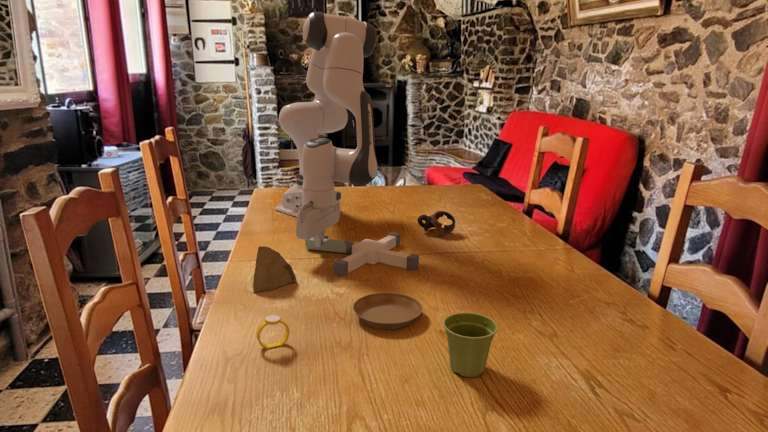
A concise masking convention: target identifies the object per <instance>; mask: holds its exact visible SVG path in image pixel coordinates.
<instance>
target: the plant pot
mask: <svg viewBox="0 0 768 432" xmlns="http://www.w3.org/2000/svg"><path fill="white" fill-rule="evenodd" d="M442 326H443V328H444V332H445V335H446V338H447V339H446V340H447V346H448V348H447V349H448V356H449V358H448V359H449V367H450V370H451V372H453V373H456V374H459V375H460V376H462V377H467V378H476V377H479V376H480V375H481V374H482V373H484V372H485V370H486V366H487V362H488V357H489V353H490V348H491V344H492V341H493V339H494V337H495V335H496V334H497V332H498V331H499V330H498V329H499V326H498V323H496V321H495V320H494V319H492V318H490V317H489V316H488V315H487V316H486V315H484V314H481V313H477V312H456V313H451V314H449V315H447V316H445V318H444V319H443V321H442Z"/></svg>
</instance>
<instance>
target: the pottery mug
mask: <svg viewBox="0 0 768 432" xmlns="http://www.w3.org/2000/svg"><path fill="white" fill-rule="evenodd" d="M444 216H445V217H446V219H448V220H451V222H452V223H451V224H449V225H448V224H444V225H443V223H442V222H440V221H438V220H439V219H440V218H442V217H444ZM416 220H417V224H418V226H420V227H421V228H423V230H424V231H425V232H427V231H428V230H429V229H432V228H435V229H437V230H438V231H437V233H436V236H437V237H438V238H439V239H440V238H441V239H442V238H443V237H444V236H446V235H449V234H451V233H452V232H454V230H455V228H456V219H455V217H454V215H452V213H450V212H448V211H445V210H437V211H435V212H434V213H432V214H431V215H426V214H420V215H419V216H418V218H417V219H416ZM423 221H424V222H423ZM442 226H443V227H442Z"/></svg>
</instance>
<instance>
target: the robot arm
mask: <svg viewBox="0 0 768 432" xmlns="http://www.w3.org/2000/svg"><path fill="white" fill-rule="evenodd" d="M377 35H378V33H377V29H376V28H375V26H374V25H373V24H371V23H369V22H368V21H361V20H358V19H356V18H353V17H349V16H346V15H337V14H331V13H323V12H322V11H312V12H310V13H309V14H308V15H307V17H306V18H305V21H304V23H303V27H302V36H303V41H304V43H305V44H306V46H307V47H309V48H311V49H312V51H311V54H310V59H309V63H308V68H307V73H306V76H305V77H306V78H305V82H306V86H307V88H308V89H309V90H310V91H311V92H312V93H313V94H314V99H313V101H301V102H300V101H299V102H294V103H290V104H286V105H284V106H282V108H281V109H280V112H279V115H278V123H279V126H280V128H281V129H282V131H283V132H284V133H285V134H286V135H287V136H289V137H290V138H291V139H292V141H293V142H294V144H295V147H296V150H297V153H298V165H299V172H298V174H295V175H293V176H294V177H293V179H296V181H295V183H294V184H293V185H292V186H290V187H289V188H288V189H287V190H286V191H285V192H283V195H282V199H281V204H279V205H277V206H275V211H278V212H279V213H283V214H286V215H290V216H293V217H296V222H295V223H296V224H295V225H296V226H295V235H296V238H297V239H298V240H305V241H306V240H309V239H311V238H312V237H313V239H314V241H315V246H316V247H320V246H322V245H323V244H324V237H325V236H326V233H327V230H328V229H329V228H331V227H332V226H334V225H336V224H337V223H339V221H340V218H341V200H342V192H341V191H337V190H336V189H335V183H334V182H336V183H344V184H351V185H355V186H359V187H365V186H367V185H369V184H370V183H372V182H373V180H375V178H376V177H377V174H378V160H377V154H376V145H375V144H376V142H375V127H374V124H375V123H374V110H373V109H374V108H373V103H372V97H371V96H370V94H369V93H368V92H367V91H366V90H365V88H364V81H363V79H364V78H363V75H364V58H368V57H370V56H371V55H373V53H374V51H375V48H376V45H377ZM347 110H348V111H350V112H351V113H352V115H353V116H354V119H355V125H356V126H355V128H356V143H357V144H356V145H357V146H356V148H355V149H354V148H342V147H336V146H334V145H333V142H332V140H331V139H329V138H327V137H319V135H320V134H329V133H330V134H331V133H335V132H338V131H341V130H343V129H344V128H345V127H346V125H347V124H348V121H349V119H348V118H349V114H348V111H347Z"/></svg>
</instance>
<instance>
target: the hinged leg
mask: <svg viewBox="0 0 768 432" xmlns="http://www.w3.org/2000/svg"><path fill="white" fill-rule="evenodd" d="M352 245H354V240H351V239H346V240H342V239H341V240H340V239H332V238H331V239H330V238H328V239H324V244H323V245H322V246H320V247H316V246H315V241H314V239H313V237H312V238H311V239H309V240H305V248H306V249H305V250H312V251H313V250H315V251H323V252H332V253H333V252H334V253H341V254H342V253H343V254H348V255H349V254H350V255H351V249H352Z"/></svg>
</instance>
